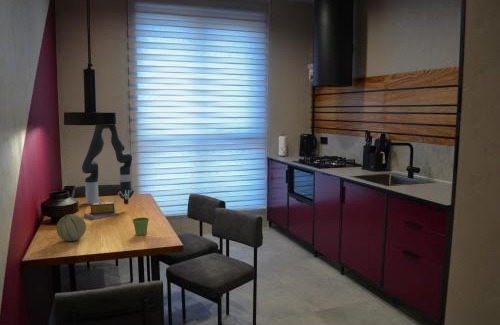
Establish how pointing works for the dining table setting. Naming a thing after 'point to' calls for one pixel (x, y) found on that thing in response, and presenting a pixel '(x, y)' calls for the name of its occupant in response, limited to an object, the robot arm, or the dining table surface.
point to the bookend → (99, 215)
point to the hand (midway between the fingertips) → (126, 204)
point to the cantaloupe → (71, 227)
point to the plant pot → (140, 225)
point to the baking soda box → (103, 207)
